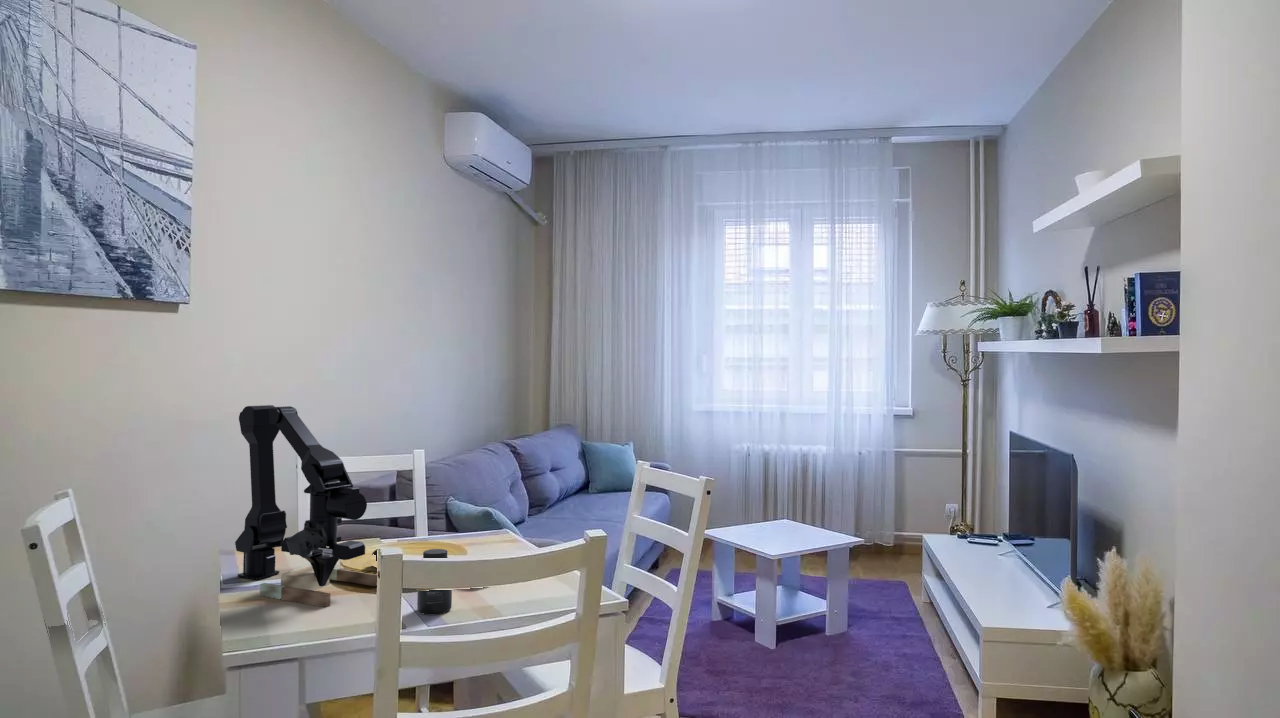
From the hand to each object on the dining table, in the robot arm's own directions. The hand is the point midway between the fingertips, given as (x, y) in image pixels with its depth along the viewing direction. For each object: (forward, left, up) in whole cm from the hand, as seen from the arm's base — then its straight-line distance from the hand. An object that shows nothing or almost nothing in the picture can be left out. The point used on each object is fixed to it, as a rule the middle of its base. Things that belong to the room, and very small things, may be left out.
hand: (322, 585), depth 168 cm
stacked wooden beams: (0, 0, -1) cm, 1 cm away
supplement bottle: (+30, -1, -1) cm, 30 cm away
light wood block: (-5, 0, -1) cm, 5 cm away
